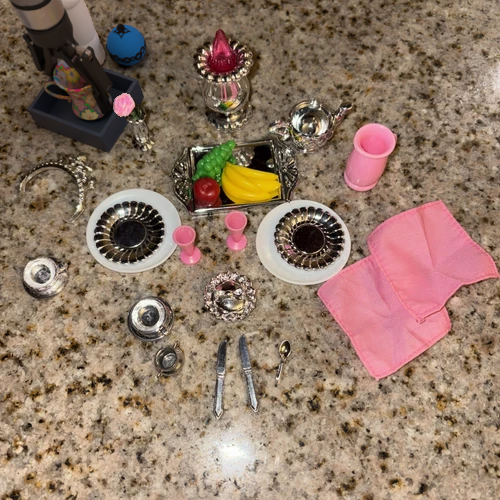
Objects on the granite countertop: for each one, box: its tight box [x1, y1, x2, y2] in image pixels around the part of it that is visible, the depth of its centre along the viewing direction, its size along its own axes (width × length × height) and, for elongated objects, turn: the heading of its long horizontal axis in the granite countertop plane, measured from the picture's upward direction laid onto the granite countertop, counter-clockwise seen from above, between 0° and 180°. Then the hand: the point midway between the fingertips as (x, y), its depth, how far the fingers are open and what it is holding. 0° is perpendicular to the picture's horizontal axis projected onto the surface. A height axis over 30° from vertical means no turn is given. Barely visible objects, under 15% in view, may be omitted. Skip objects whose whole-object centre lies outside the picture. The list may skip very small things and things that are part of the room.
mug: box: [43, 56, 112, 120], centre depth 101 cm, size 12×9×11 cm
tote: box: [26, 66, 145, 154], centre depth 104 cm, size 18×16×6 cm
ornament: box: [105, 22, 147, 67], centre depth 107 cm, size 9×9×10 cm
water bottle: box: [61, 0, 106, 66], centre depth 100 cm, size 7×7×25 cm
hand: (87, 102), depth 104 cm, fingers closed on mug, 9 cm apart
